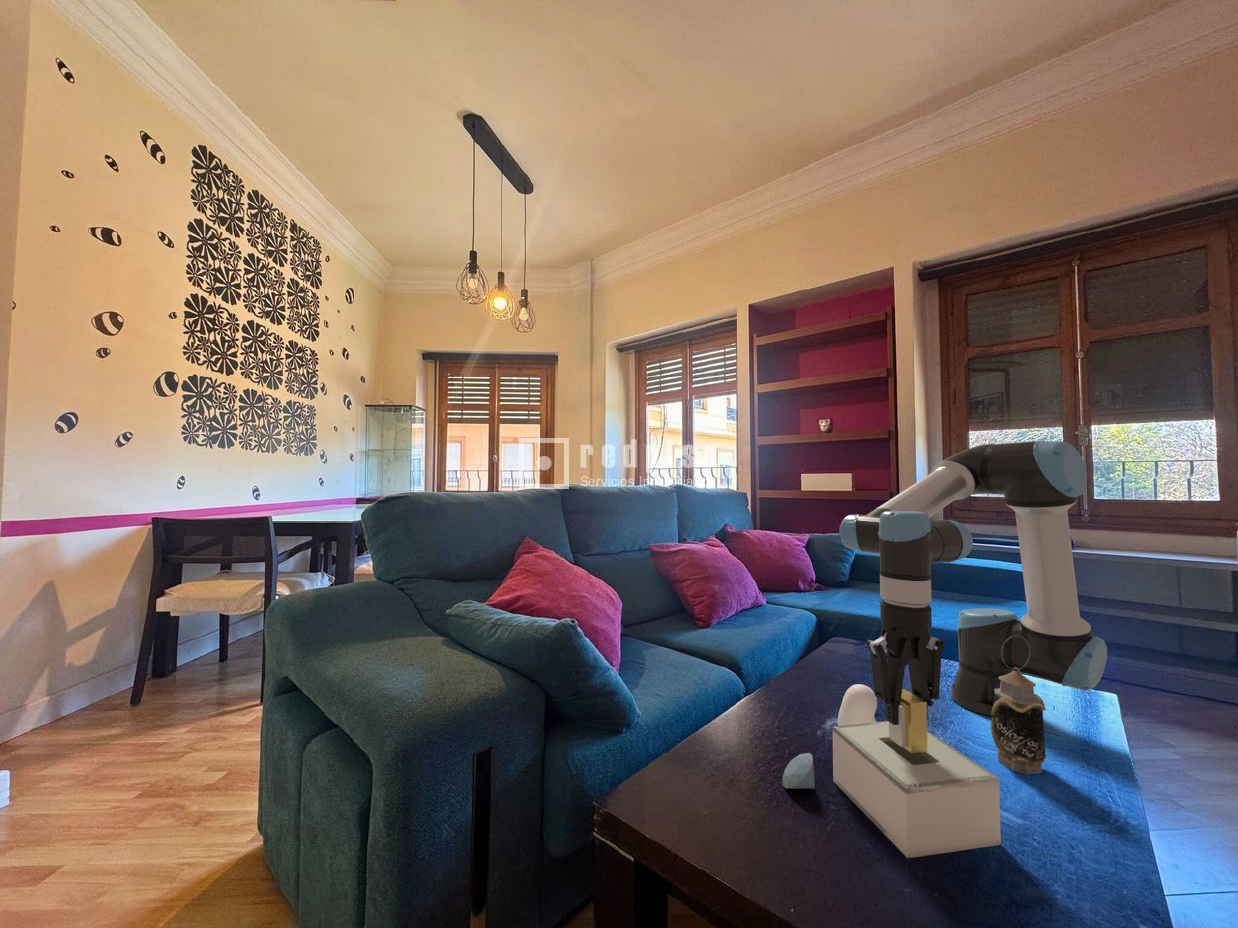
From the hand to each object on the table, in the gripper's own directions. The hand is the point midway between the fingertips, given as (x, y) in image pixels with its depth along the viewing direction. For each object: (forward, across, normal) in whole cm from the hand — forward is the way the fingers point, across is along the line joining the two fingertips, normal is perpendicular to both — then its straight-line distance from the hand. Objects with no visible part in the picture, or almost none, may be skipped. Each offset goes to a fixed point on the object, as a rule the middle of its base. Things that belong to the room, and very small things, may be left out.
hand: (907, 741), depth 80 cm
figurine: (+12, -5, -20) cm, 24 cm away
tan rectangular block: (0, 0, 0) cm, 0 cm away
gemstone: (+12, +15, -9) cm, 21 cm away
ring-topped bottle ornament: (+11, -31, -8) cm, 34 cm away
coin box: (+11, 0, 0) cm, 11 cm away
